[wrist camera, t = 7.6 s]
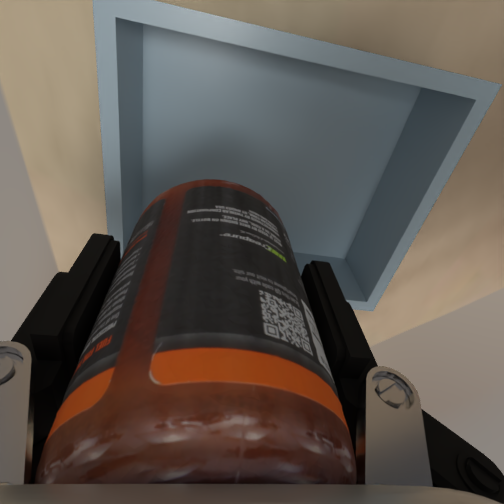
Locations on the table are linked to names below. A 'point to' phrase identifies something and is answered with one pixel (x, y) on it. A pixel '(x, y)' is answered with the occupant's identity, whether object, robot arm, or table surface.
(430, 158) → the tote
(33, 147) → the table surface
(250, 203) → the supplement bottle
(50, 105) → the table surface
